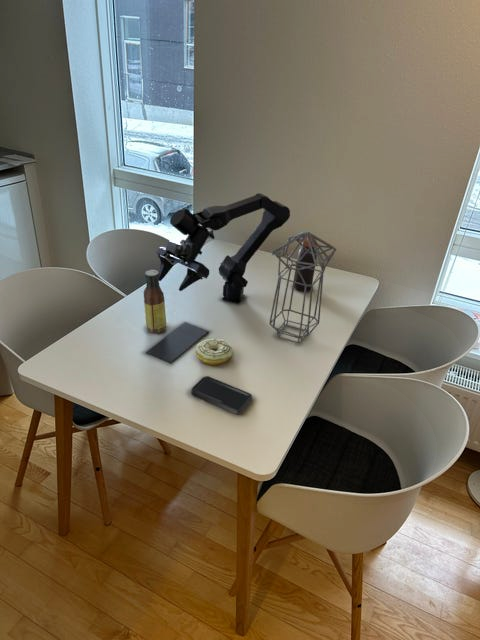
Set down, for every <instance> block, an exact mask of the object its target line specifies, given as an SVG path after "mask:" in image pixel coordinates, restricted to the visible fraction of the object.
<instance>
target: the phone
mask: <svg viewBox="0 0 480 640" xmlns="http://www.w3.org/2000/svg"><path fill="white" fill-rule="evenodd" d="M190 393H191V395H192V396H193V397H196V398H198V399H201V400H202V401H204V402H207V403H210V404H212V405H214V406H216V407H218V408H221V409H223V410H225V411H228V412H230V413H232V414H234V415H240V414H242V413H243V412H244V410H245V409H246V408H247V406H248V405H249V404H250V403H251V401H253V395H252V393H250V392H248V391H245V390H242V389H240V388H238V387H235V386H233V385H230V384H228V383H226V382H223V381H221V380H218V379H216V378H213V377H211V376H209V375H205V376H203V377H202V378H201V379H200V380H199V381H198V382H196V383H195V384H194V385H193V386H192V387H191V390H190Z"/></svg>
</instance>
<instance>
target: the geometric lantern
mask: <svg viewBox="0 0 480 640" xmlns="http://www.w3.org/2000/svg"><path fill="white" fill-rule="evenodd" d="M306 238H308V242H306ZM315 239H316V240H317V241H315ZM311 241H312V244H313V246H314V249H315V251H316V254H315V253H314V252H313V249H312V244H311ZM294 242H297V245H296V246H295V247H294V249H292V251H291V253H290V254H288V249H289V246H290V245H292V244H293V243H294ZM302 242H303V244H302ZM318 242H319V243H318ZM305 243H306V244H309V245H310V246H309V249H307V248H306V247H305V246H304V244H305ZM320 243H321V244H320ZM322 244H323V245H322ZM299 246H300V249H301V250H300V249H299V250H300V253H299V256H298V255H297V260H294V259H292V257H293V255H294V253H295V252H296V251H297V249H298V248H299ZM303 248H304V249H305V250H306V252H305V253H304V255H303V256H302V257H301V258H300V256H301V253H302V250H303ZM323 248H324V249H325V248H326V249H325V250H324V249H323ZM310 249H311V252H310V251H309V250H310ZM331 250H332V251H331ZM281 251H282V254H281ZM329 251H331V253H330V254H329V255H328V254H327V253H326V252H329ZM307 252H308V253H310V254H312V256H313V259H314V263H315V264H311V263H305V262H300V261H301V259H302V258H303V257H304V256H305V255H306V254H307ZM336 252H337V248H336V247H335V246H334V245H331V244H330V243H328V242H327V241H325V240H323V239H322V238H320V237H318V236H316V235H315V234H313V233H311V232H310V231H308V232H307V231H302V232H299V233H295V234H292V235H290V236H288V237H287V241H286V243H284V244H282V245H280V246H278V247H277V248H275V249H273V250H272V251H270V253H271V255H272V256H275V257H276V258H277V259H278V271H277V276H278V277H277V283H276V287H275V288H276V289H275V292H274V298H273V302H272V307H271V313H270V317H269V321H268V325H269V326H270V327H271V328H272V329H273V330H275V331H276V332H277V333H276V335H275V336H276V337H277V338H279V339H282V340H286V341H288V342H292V343H296V344H301V343H303V341H304V339H306V337H309V336H310V334H312V333H313V331H314V329H316V328H317V326H318V325H319V324H320V320H321V307H322V296H323V285H324V284H323V283H324V273H325V270H326V268H327V266H328V264H329V262H330V261H331V259H332V258H333V256H334V255H335V253H336ZM322 254H323V255H324V257H326V258H323V256H322ZM314 255H315V256H317V258H316V259H315V256H314ZM283 258H284V259H286V262H285V261H284V260H283ZM317 260H318V263H319V264H318V263H317ZM289 262H291V263H289ZM325 262H326V263H325ZM281 263H282V264H283V265H284V266H285V267H284V268H283V269H282V270H281ZM294 263H295V264H294ZM298 263H299V264H305V265H311V266H307V267H305V266H301V265H298ZM297 266H300V267H303V268H298V269H297ZM311 267H315V269H312V268H311ZM316 267H320V269H316ZM307 268H308V269H311V270H314V272H318V274H317V275H316V277H315V279H314V280H313V283H312V285H306V283H305V281H304V279H303V277H302V275H301V273H300V271H299V270H302V269H307ZM292 270H293V271H294V276H293V280H292V279H291V273H292ZM284 271H285V272H284ZM297 271H298V273H299V275H300V277H301V279H302V281H303V283H304V284H301V283H298V282H295V279H296V273H297ZM283 272H284V273H283ZM282 273H283V274H282ZM287 273H288V275H287V278H285V277H284V276H285V275H286V274H287ZM281 274H282V275H281ZM282 280H284V281H286V285H285V290H284V291H285V292H284V296H283V301H282V306H281V310H280V311H279V312H278V311H277V310H278V304H279V297H280V289H281V283H282ZM317 282H318V287H317V288H318V289H317V293H316V300H315V307H314V313H313V315H311V312H312V301H313V300H312V299H313V292H314V291H313V290H314V289H313V288H314V285H315V284H316V283H317ZM290 283H292V286H291V287H292V288H291V294H290V300H289V306H288V309H287V308H286V309H284V308H285V303H286V299H287V293H288V289H289V284H290ZM295 283H297V284H300V285H304V286H305V290H304V292H303V300H302V309H301V312H300V311H296V310H293V309H292V303H293V296H294V291H295V288H294V285H295ZM307 286H308V287H311V290H310V291H309V292H310V294H309V305H308V314H306V313H304V312H305V306H306V305H305V304H306V296H307V292H306V288H307ZM317 310H318V314H317ZM277 312H278V313H277ZM284 312H287V315H286V318H285V314H284ZM290 312H292V313H294V314H297V315H301V316H300V322H296V321H292V320H289V316H290ZM280 315H282V317H283V321H282V323H281V325H280V326H279V328H278V327H276V326H275V325H276V319H277V318H278V317H279V316H280ZM304 317H307V324H304V323H303V322H304V321H303V320H304ZM316 317H317V318H316ZM314 320H315V323H313V324H311V323H312V321H314ZM288 323H293V324H296V325H299V327H296V326H292V325H289V324H288ZM310 324H311V325H310ZM303 326H304V329H303ZM285 327H289V328H292V329H296V330H298V335H297V334H295V333H292V332H290V331H287V330H284V328H285ZM311 327H312V328H311ZM310 328H311V329H310ZM302 331H303V333H302ZM281 335H285V336H288V337H291V338H295V339H297V341H296V340H292V339H290V338H286V337H282V336H281Z"/></svg>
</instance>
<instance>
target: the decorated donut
mask: <svg viewBox="0 0 480 640" xmlns="http://www.w3.org/2000/svg"><path fill="white" fill-rule="evenodd" d="M233 349H234V348H233V347H232V345H231V344H230V343H229V342H228V341H227V340H224V339H222V338H207V339H204V340H201V341H199V343H198V344H196V348H195V355H196V356H197V358H198V359H199V360H200V361H201V362H202V363H204V364H206V365H210V366H217V365H223V364H225V363H227V361H228V360H229V359H230V358H231V357H232V356H233V355H234V350H233Z"/></svg>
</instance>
